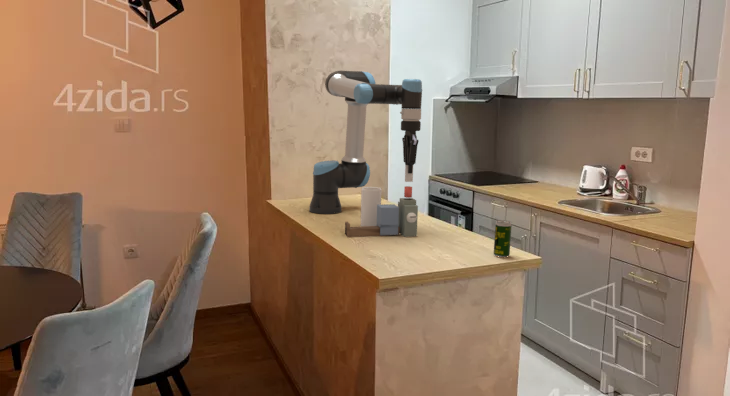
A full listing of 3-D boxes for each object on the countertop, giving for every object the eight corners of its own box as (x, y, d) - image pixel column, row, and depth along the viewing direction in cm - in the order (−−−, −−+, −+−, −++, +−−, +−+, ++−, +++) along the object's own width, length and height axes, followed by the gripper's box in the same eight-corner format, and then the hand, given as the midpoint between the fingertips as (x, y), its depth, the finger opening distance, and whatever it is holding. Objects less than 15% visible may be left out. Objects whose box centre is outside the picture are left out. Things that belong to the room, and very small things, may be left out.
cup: (378, 229, 228) (379, 190, 225) (358, 227, 229) (359, 189, 226) (381, 224, 236) (382, 187, 233) (362, 223, 237) (363, 186, 234)
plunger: (403, 196, 219) (403, 186, 219) (410, 196, 220) (410, 186, 220) (405, 197, 217) (405, 187, 216) (412, 197, 217) (413, 187, 217)
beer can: (497, 253, 195) (500, 219, 193) (512, 256, 192) (514, 221, 190) (490, 256, 191) (492, 221, 189) (505, 259, 188) (507, 224, 186)
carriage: (376, 231, 221) (377, 204, 219) (393, 230, 223) (394, 204, 221) (380, 235, 215) (381, 207, 213) (397, 234, 217) (398, 207, 215)
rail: (344, 234, 218) (344, 221, 217) (396, 232, 222) (396, 220, 222) (347, 237, 213) (347, 224, 212) (400, 235, 218) (400, 222, 217)
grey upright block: (396, 230, 225) (397, 197, 223) (409, 230, 226) (410, 197, 224) (404, 237, 215) (406, 202, 212) (417, 236, 216) (419, 201, 214)
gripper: (396, 119, 219) (394, 179, 223) (406, 120, 206) (404, 184, 210) (414, 119, 220) (412, 179, 224) (425, 121, 208) (423, 183, 212)
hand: (408, 181), depth 217 cm, fingers closed
